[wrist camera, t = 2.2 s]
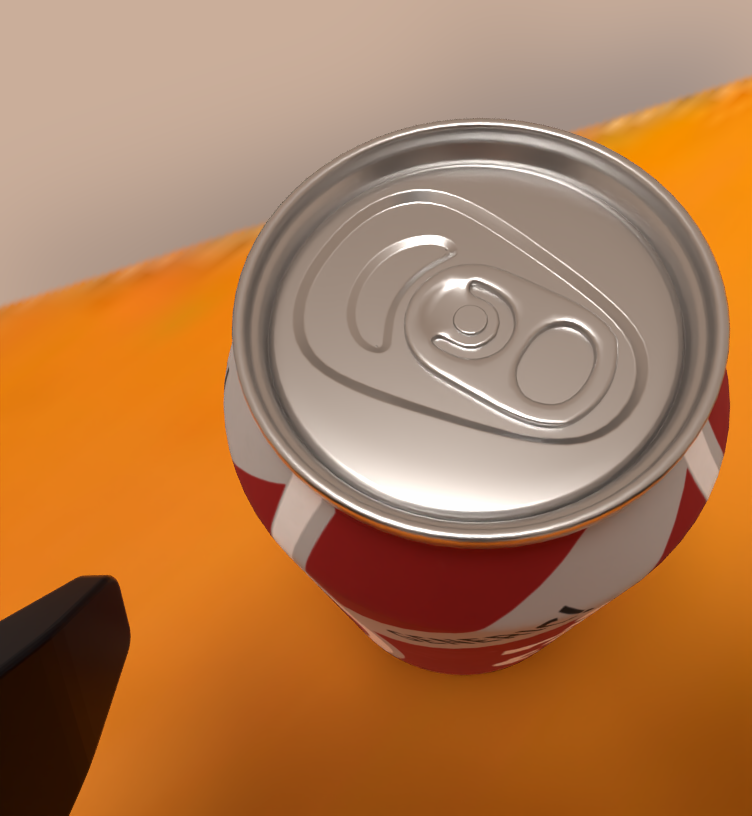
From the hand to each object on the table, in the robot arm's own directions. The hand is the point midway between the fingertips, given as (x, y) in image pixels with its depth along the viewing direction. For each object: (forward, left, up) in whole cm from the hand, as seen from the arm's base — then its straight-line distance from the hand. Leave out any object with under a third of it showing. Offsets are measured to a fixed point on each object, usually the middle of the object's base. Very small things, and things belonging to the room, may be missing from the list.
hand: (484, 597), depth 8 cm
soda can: (+2, -2, -10) cm, 11 cm away
